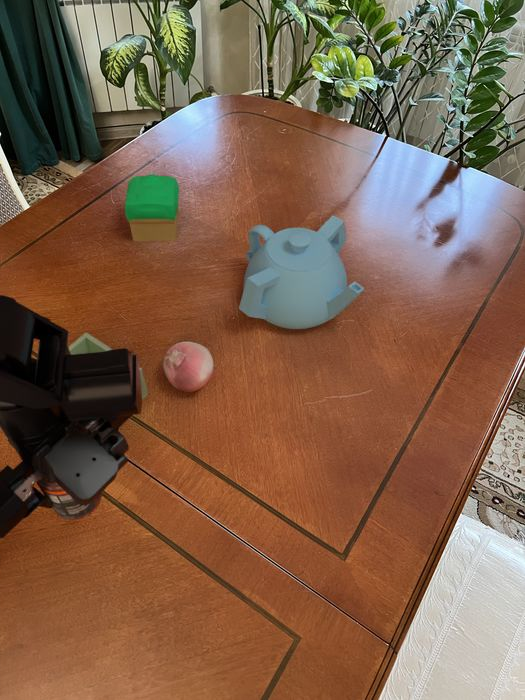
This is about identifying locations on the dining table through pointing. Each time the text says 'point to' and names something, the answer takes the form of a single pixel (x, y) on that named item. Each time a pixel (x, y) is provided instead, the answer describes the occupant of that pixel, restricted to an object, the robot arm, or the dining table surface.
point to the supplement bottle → (66, 501)
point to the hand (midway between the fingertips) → (71, 484)
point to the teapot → (297, 276)
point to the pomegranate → (188, 366)
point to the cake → (153, 208)
